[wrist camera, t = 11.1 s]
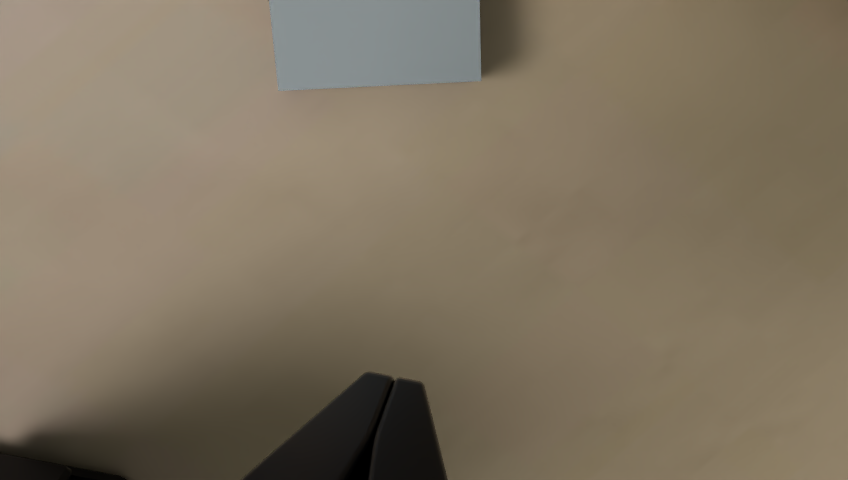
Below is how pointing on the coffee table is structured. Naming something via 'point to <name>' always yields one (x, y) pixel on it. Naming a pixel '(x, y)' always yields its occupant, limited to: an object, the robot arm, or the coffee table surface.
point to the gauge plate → (375, 42)
